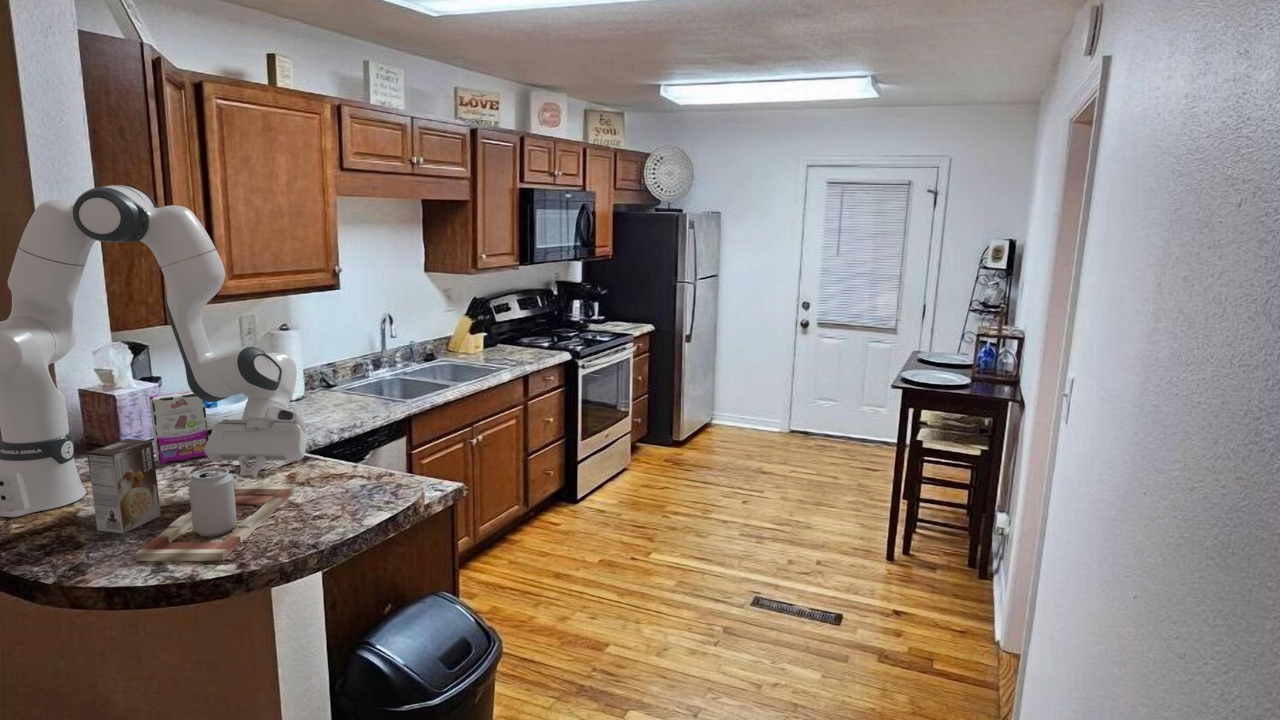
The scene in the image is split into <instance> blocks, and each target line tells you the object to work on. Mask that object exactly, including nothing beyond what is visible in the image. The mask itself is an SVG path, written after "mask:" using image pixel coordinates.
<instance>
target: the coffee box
mask: <svg viewBox="0 0 1280 720" xmlns="http://www.w3.org/2000/svg"><path fill="white" fill-rule="evenodd" d="M153 441H154V440H143V439H142V440H141V439H130V438H125V439H122V440H119V441H116V442H114V443H110V444H107V445H104V446H101V447H99V448H95V449H93V450H89V451H87V452H86V455H87V460H88V461H87V462H88V467H89V468H88V471H89V477H90V484H91V493H92V499H93V508H94V516H95V522H96V529H97V531H100V532H107V533H114V534H115V533H117V534H126V533H128V532H130V531H132V530H134V529H136V528H139V527H141V526H143V525H144V524H147V523H149V522H151V521H153V520H155V519H157V518H159V517H161V516H162V513H161V504H160V497H159V496H160V495H159V487H158V478H157V470H156V461H155V453H154V444H153Z"/></svg>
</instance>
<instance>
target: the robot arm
mask: <svg viewBox="0 0 1280 720" xmlns="http://www.w3.org/2000/svg"><path fill="white" fill-rule="evenodd" d="M97 241H99V242H102V243H109V244H110V243H111V244H118V243H138V242H141V243H143V244H145V245H146V246H147V247H148V248H149V249H150V251H151V252H152V254H153V256H154V257H155V260H156V262H157V263H158V266H159V267H160V270H161V272H162V274H163V277H164V281H165V284H166V286H165V287H166V295H165V297H164V305H165V311H166V314H167V317H168V320H169V324H170V326H171V329H172V331H173V335H174V337H175V340H176V344H177V346H178V349H179V351H180V355H181V357H182V361H183V363H184V368H185V376H186V381H187V385H188V387H189V390H190V391H192V392H193V393H194V394H195V395H196V396H197V397H199V398H200V399H202V400H204V401H205V402H206V403H217V402H221V401H222V400H225V399H228V398H230V397H232V396H233V397H234V396H237V395H242V394H243V395H245V396H246V397H247V401H246V403H245V407H244V409H243V412H242V417H241V418H240V419H233V420H232V419H231V420H229V419H222V420H221V421H219V422H217V423H215V424H214V425H213V426H212V429H211V434H210V436H208V441H207V444H206V446H205V449H204V451H205V453H206V455H207V456H206V457H208V458H209V459H210V460H211V461H238V464H239V466H240V472H239V477H240V478H241V479H257V478H258V475H259V472H260V471H261V470H262V469H263V468H264V467H265V466H267V465H266V464H267V461H268V462H269V461H270V462H271V461H284V462H285V461H288V462H290V461H291V462H293V461H295V462H298V461H301V460H302V459H303V458H304V457H305V454H306V450H307V444H308V443H307V435H306V434H305V433H307V432H306V431H307V425H306V423H305V421H304V419H303V418H302V416H301V415H300V413H298V412H295V411H293V410H292V411H291V410H289V403H290V401H291V400H292V399H293V396H294V393H295V392H294V391H295V387H296V384H297V383H296V382H297V376H298V375H297V374H298V373H297V365H296V363H295V361H294V360H293V359H292V358H291V357H289V356H288V355H286V354H284V353H281V352H275V351H274V352H265V351H264V350H262V349H261V348H259V347H256V346H244V347H241V348H238V349H237V348H236V349H234V350H230V351H228V352H224V353H221V354H220V353H219V354H215V352H213V351H212V348H211V346H210V342H209V340H208V337H207V333H206V331H205V328H204V325H203V321H202V313H203V310H204V308H205V306H206V305H207V303H208V302H209V301H211V299H213V298H214V297H215V296H216V295H217V294H218V293H219V292H220V290H221V288H222V286H223V284H224V283H225V280H226V279H225V278H226V270H225V266H224V264H223V261H222V259H221V257H220V255H219V253H218V250H217V248H216V246H215V245H214V243H213V241H212V239H211V237H210V235H209V234H208V232H207V231H206V229H205V227H204V226H203V225H202V223H201V222H200V220H199V219H198V217H197V216H196V214H195V213H194V212H193V211H192V210H191V209H189V208H188V207H186V206H183V205H175V204H174V205H165V206H161V207H158V206H157V204H156V202H155V200H154V199H153V198H152V196H150V195H149V194H148V193H147V192H145V190H142V189H140V188H138V187H136V186H131V185H121V184H111V185H104V186H98V187H94V188H90V189H87V190H86V191H85V192H83V193H82V194H80V195H79V196H78V197H77V199H75V202H74V203H73V202H71V201H70V202H69V201H66V200H58V199H57V200H55V199H53V200H46V201H44V202H42V203H40V204H39V205H38V206H37V207H36V209H35V210H34V211H33V213H32V215H31V217H30V219H29V220H28V222H27V224H26V226H25V229H24V231H23V233H22V236H21V238H20V242H19V244H18V247H17V249H16V253H15V256H14V260H13V262H12V266H11V267H10V268H11V270H10V272H9V276H8V278H7V287H8V289H9V290H10V291H11V310H10V311H11V312H10V314H9V316H8V318H7V319H6V320H2V321H0V433H1V434H0V435H1V438H0V517H5V518H17V517H23V516H25V515H29V514H32V513H36V512H40V511H41V512H42V511H47V510H53V509H56V508H61V507H63V506H66V505H70V504H73V503H75V502H77V501H79V500H81V499H82V498H84V497H85V496H86V495H85V494H87V490H86V488H85V486H84V484H83V482H82V481H81V478H80V475H79V471H78V469H77V466H76V461H75V458H74V457H75V446H74V445H75V444H74V437H73V432H72V430H70V428H69V427H70V426H69V420H68V419H69V418H68V411H67V405H66V404H67V402H66V397H65V395H64V393H62V391H60V390H59V389H58V388H57V386H56V385H55V383H54V381H53V379H52V376H51V374H50V371H49V365H51V364H54V363H56V362H58V361H60V360H62V359H63V358H64V357H65V356H66V355H67V354H68V353H69V352H70V351H71V350H72V349H73V347H74V346H75V343H76V339H77V338H76V337H77V336H76V330H75V327H74V326H73V324H74V309H75V301H76V297H77V292H78V290H79V289H78V288H79V286H80V283H81V279H82V276H83V274H84V270H85V267H86V264H87V261H88V257H89V254H90V252H91V249H92V247H93V245H94V244H95V243H96V242H97ZM250 461H254V462H255V461H256V463H255V464H254V465H253V466H252V467H247V465H249V463H250ZM84 495H85V496H84ZM83 496H84V497H83Z"/></svg>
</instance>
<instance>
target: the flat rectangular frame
mask: <svg viewBox="0 0 1280 720" xmlns="http://www.w3.org/2000/svg"><path fill="white" fill-rule="evenodd" d="M294 494H295V492H294V486H235V485H234V495H235V505H262V506H261V507H260V508H259V509H257V511H255V512H254V513H253V514H252V515H249V516H248V517H246V518H245V519H244V520H243V521H242V522H241V523H240V524H238V527H237V529H235V531H233V532H232V533H231V534H230V535H229V536H228V537H227V538H226V539H225V540H223V541H222V542H220V541H217V542H216V541H214V542H211V541H210V542H209V541H207V542H206V541H205V542H204V541H203V542H202V541H201V542H198V541H197V542H192V541H191V542H189V541H185V542H181V541H180V542H173V541H175V540H176V539H177V538H178V537H180V536H181V535H182V534H184V533H185V532H186V531H187V530H188V529H190V528H191V527H193V524H192V514H191V510H190V511H189V512H187V513H185V514H182V515H181V516H179V517H178V518H177V519H175V520H174V521H173V522H172V523H170V524H169V525H168V528H166V529H165V530H164V531H162V532H161V533H160V534H159V535H157V536H156V537H154V538H153V539H152V540H150V541H148V543H147V544H146V545H144V546H143V547H141V548H139V550H137V551H136V552H135V553H134V554H135V555H134V556H135V561H136V562H175V561H176V562H185V561H187V562H195V561H197V562H198V561H199V562H201V561H206V562H207V561H208V562H211V561H213V562H218V561H221V562H222V560H223V561H224V560H226V559H227V558H228V557H229V556H228V555H229V554H230V553H231V552H232V551H233V550H234V549H235V548H236V547H237V548H238V547H239V546H240V545H241V544H242V543H243V542H244V541H246V539H248V538H249V537H250V536H251V533H252V532H253V531H254V530H255V529H256V528H257V527H258V526H259V525H260V524H261V523H262V522H263V521H264V520H265V519H266V518H267V517H268V518H269V517H270V516H271V515H273V514H274V513H275V512H276V509H277V508H278V507H279V506H280V505H281V504H282V503H283V504H284V503H285V502H286V501H287V500H288V499H289V498H290V497H292V495H294ZM283 504H282V505H283ZM282 505H281V506H282ZM281 506H280V507H281ZM280 507H279V508H280ZM279 508H278V509H279ZM278 509H277V510H278ZM270 514H271V515H270ZM269 515H270V516H269ZM268 518H267V519H268ZM267 519H266V520H267ZM266 520H265V521H266ZM265 521H264V522H265ZM264 522H263V523H264ZM263 523H262V524H263ZM262 524H261V525H262ZM261 525H260V526H261ZM260 526H259V527H260ZM259 527H258V528H259ZM258 528H257V529H258ZM257 529H256V530H257ZM256 530H255V531H256ZM255 531H254V532H255ZM254 532H253V533H254ZM253 533H252V534H253ZM243 540H244V541H243ZM241 542H242V543H241ZM240 543H241V544H240ZM239 544H240V545H239ZM237 548H236V549H237ZM236 549H235V550H236ZM235 550H234V551H235ZM234 551H233V552H234ZM233 552H232V553H233ZM232 553H231V554H232ZM231 554H230V555H231ZM227 556H228V557H227Z"/></svg>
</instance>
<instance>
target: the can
mask: <svg viewBox="0 0 1280 720" xmlns="http://www.w3.org/2000/svg"><path fill="white" fill-rule="evenodd" d="M229 472H230V470H229V469H228V468H226V467H207V468H203V469H199V470H197V471H195V472H193V473H192V474H191V477H192V478H191V479H190V480H189V481H188V489H189V490H188V491H189V500H190V511H191V514H192V524H193V525H192V530H193V532H194V533H197V534H198V535H199V536H201V537H216V536H221V535H225V534H227V533H229V532H230V531H232V530H233V528H234V527H236V525H237V522H238V521H237V510H236V509H237V508H236V504H235V495H234V486H235V485H234V476H233V475H232V474H230V473H229Z"/></svg>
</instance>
